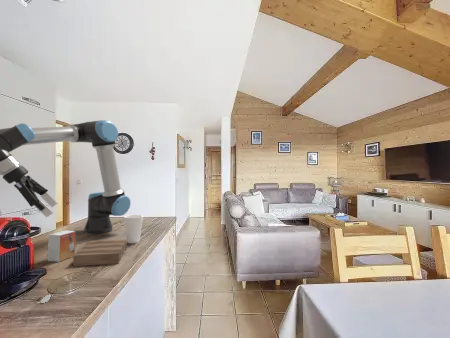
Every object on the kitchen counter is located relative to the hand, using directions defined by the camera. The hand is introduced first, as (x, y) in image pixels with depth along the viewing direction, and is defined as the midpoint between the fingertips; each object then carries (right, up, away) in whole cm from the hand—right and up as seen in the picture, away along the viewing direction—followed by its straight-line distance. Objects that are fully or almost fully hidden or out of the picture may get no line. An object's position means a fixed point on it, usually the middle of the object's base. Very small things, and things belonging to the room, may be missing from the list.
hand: (52, 209), depth 103 cm
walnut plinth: (+21, -20, +1) cm, 29 cm away
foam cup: (+25, -20, +23) cm, 40 cm away
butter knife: (+19, -20, -25) cm, 37 cm away
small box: (+6, -20, -3) cm, 21 cm away
